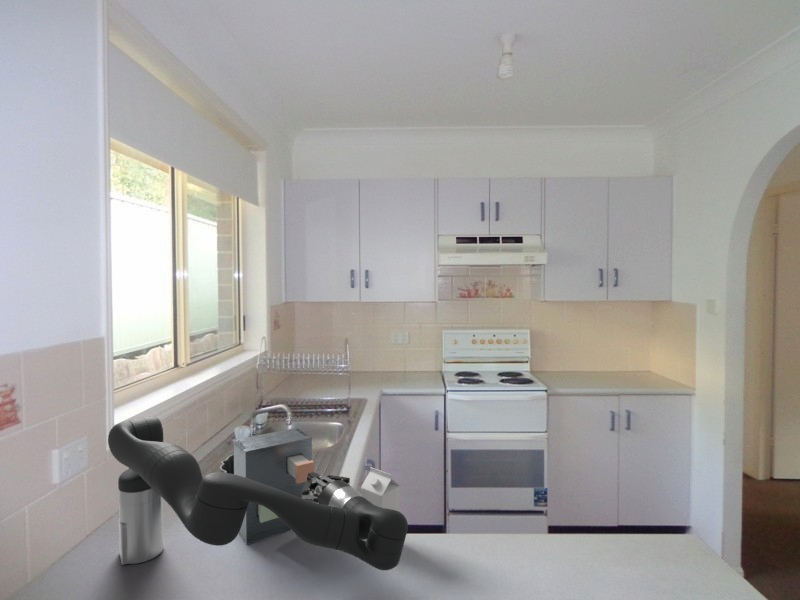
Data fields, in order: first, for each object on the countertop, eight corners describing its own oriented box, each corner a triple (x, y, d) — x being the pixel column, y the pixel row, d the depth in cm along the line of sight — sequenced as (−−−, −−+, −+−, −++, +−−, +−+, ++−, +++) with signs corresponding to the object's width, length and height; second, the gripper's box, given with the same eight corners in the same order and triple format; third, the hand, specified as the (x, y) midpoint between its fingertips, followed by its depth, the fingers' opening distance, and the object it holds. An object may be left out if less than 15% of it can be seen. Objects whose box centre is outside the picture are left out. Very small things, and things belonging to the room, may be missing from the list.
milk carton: (379, 533, 125) (379, 462, 124) (400, 542, 121) (400, 470, 120) (360, 544, 120) (360, 471, 119) (381, 555, 115) (381, 479, 114)
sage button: (260, 522, 118) (260, 504, 118) (249, 507, 126) (248, 491, 125) (278, 517, 121) (278, 499, 121) (266, 503, 128) (265, 486, 128)
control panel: (246, 544, 120) (245, 451, 118) (234, 527, 128) (233, 440, 126) (312, 523, 130) (311, 437, 129) (297, 508, 138) (296, 427, 137)
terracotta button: (297, 483, 119) (297, 465, 119) (283, 471, 126) (283, 454, 126) (314, 479, 122) (314, 461, 121) (299, 467, 129) (299, 450, 129)
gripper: (369, 479, 108) (334, 455, 122) (316, 495, 100) (285, 467, 114) (369, 511, 108) (334, 484, 122) (317, 530, 100) (285, 498, 114)
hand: (310, 476), depth 118 cm, fingers closed
